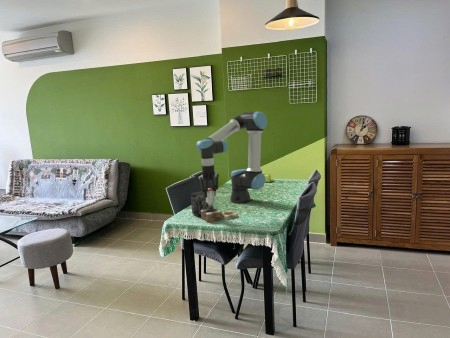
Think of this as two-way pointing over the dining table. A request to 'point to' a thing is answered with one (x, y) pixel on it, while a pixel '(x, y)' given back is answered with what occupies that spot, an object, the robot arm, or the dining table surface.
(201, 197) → the camera
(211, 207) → the lock pin
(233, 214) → the mount block
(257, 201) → the dining table surface
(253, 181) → the robot arm
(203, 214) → the dock block
